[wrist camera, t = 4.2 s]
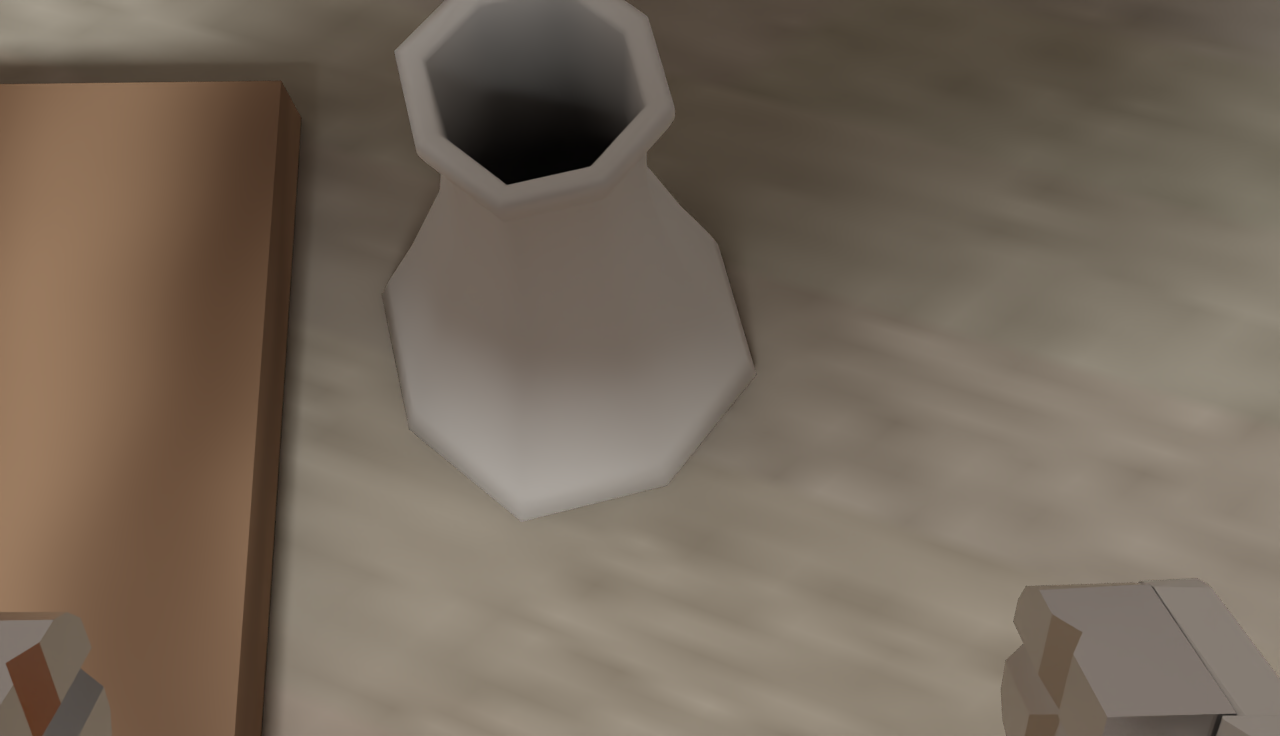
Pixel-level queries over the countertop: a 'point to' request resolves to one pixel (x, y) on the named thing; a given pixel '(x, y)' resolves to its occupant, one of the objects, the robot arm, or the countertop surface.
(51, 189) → the walnut board
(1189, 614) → the robot arm
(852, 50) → the countertop surface
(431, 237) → the flask
